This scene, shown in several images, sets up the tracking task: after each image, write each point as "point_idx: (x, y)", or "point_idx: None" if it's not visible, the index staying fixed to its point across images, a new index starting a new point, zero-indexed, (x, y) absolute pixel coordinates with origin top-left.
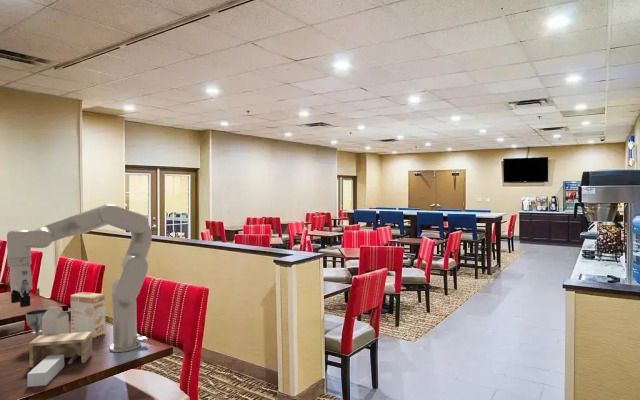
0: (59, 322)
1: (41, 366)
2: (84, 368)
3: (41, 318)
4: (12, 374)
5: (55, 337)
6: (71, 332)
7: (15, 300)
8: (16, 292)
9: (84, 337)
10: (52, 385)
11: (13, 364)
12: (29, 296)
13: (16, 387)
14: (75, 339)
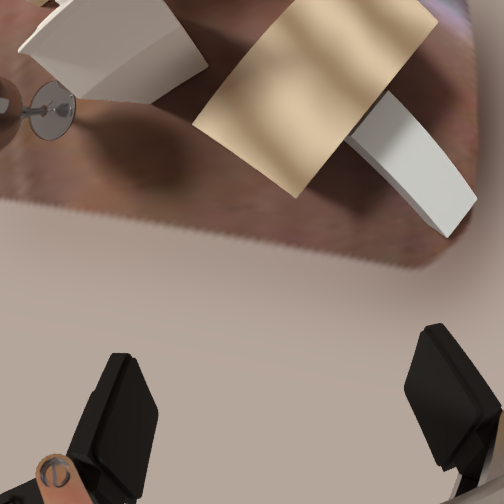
0: (171, 12)
1: (431, 190)
2: (432, 67)
3: (4, 97)
4: (299, 230)
5: (309, 77)
6: (37, 4)
7: (145, 411)
8: (111, 484)
9: (417, 7)
10: (467, 178)
11: (200, 208)
12: (494, 402)
13: (406, 244)
14: (416, 40)
